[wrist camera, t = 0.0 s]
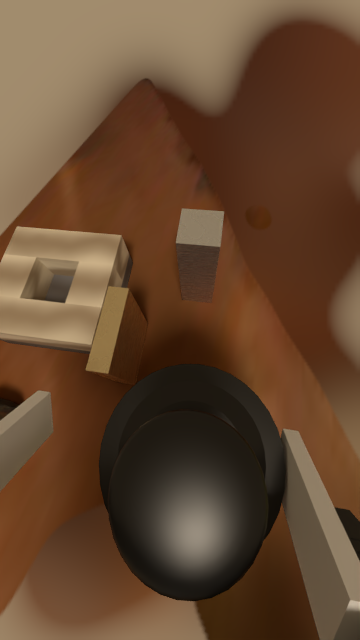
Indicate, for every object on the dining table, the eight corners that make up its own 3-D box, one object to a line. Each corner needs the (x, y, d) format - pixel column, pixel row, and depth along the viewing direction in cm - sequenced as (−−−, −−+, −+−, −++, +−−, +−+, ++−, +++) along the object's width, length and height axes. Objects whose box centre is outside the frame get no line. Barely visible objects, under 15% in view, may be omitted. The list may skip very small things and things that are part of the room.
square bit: (211, 302, 33) (220, 246, 22) (182, 299, 33) (175, 243, 22) (214, 276, 34) (224, 211, 23) (186, 274, 35) (181, 208, 23)
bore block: (109, 356, 31) (91, 344, 25) (8, 342, 33) (-30, 328, 27) (132, 262, 36) (121, 235, 30) (43, 254, 37) (17, 226, 32)
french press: (133, 457, 27) (-109, 644, 5) (162, 375, 30) (78, 284, 8) (239, 499, 25) (507, 1033, 4) (258, 406, 28) (467, 393, 7)
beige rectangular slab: (135, 385, 30) (108, 373, 20) (119, 383, 30) (85, 370, 21) (148, 323, 32) (128, 288, 23) (133, 321, 33) (108, 286, 23)
